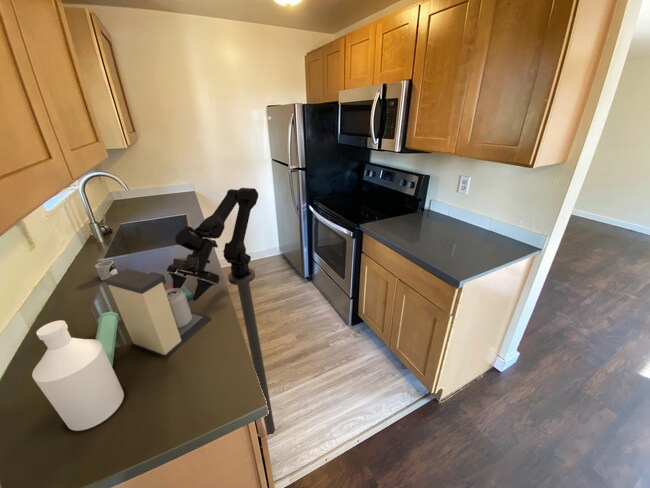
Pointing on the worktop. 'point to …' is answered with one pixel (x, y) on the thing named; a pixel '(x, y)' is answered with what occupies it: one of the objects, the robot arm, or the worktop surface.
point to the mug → (106, 269)
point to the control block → (186, 292)
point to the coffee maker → (150, 312)
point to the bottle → (77, 378)
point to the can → (179, 306)
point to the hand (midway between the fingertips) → (183, 297)
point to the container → (108, 333)
